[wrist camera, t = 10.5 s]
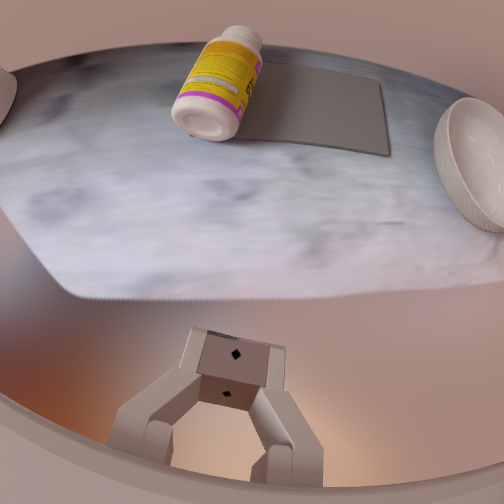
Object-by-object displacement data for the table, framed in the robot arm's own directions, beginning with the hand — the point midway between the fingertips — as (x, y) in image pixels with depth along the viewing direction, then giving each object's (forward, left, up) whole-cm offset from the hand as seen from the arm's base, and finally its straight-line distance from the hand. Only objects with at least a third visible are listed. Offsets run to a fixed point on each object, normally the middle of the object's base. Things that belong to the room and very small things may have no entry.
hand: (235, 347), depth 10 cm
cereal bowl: (+32, +11, -20) cm, 39 cm away
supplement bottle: (-1, +17, -16) cm, 23 cm away
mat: (+10, +22, -20) cm, 31 cm away
